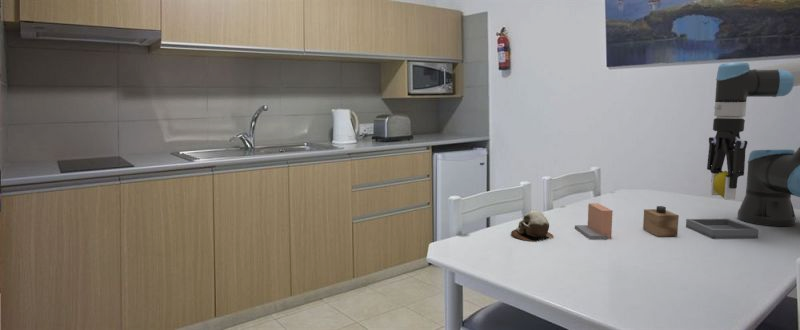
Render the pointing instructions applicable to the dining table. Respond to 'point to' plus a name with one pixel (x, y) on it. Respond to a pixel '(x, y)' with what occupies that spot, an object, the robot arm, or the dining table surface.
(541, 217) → the skull
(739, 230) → the tray
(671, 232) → the wooden block with knob
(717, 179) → the lemon
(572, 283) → the dining table surface
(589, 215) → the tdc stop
